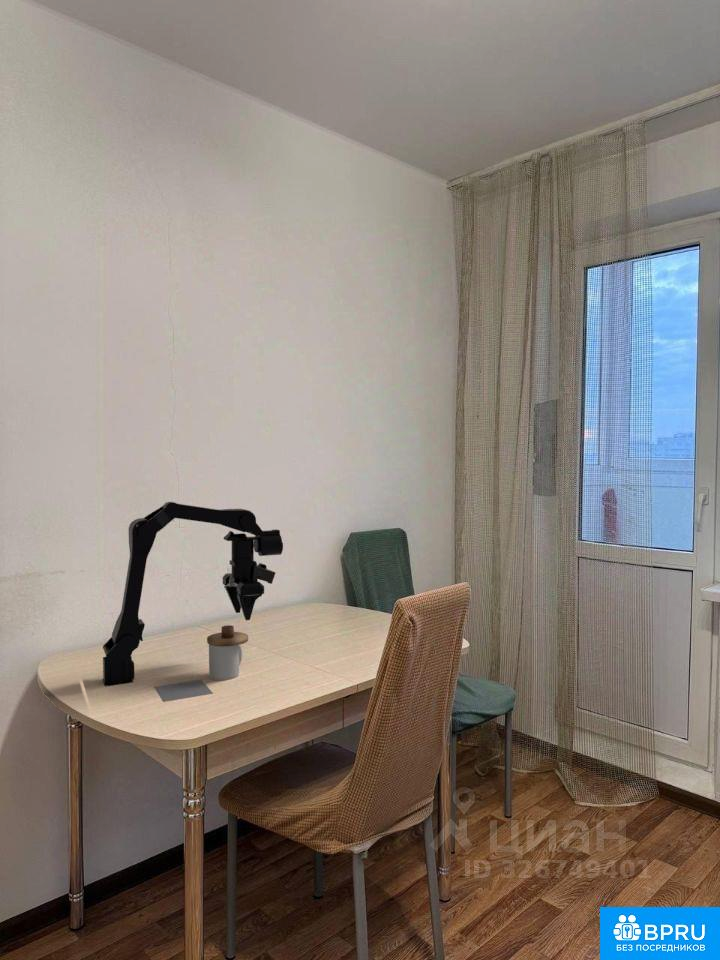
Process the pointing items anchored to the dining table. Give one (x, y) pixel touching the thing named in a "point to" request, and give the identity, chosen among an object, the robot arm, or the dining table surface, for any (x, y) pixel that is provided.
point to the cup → (224, 662)
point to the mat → (182, 690)
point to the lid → (227, 637)
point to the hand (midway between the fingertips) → (242, 616)
